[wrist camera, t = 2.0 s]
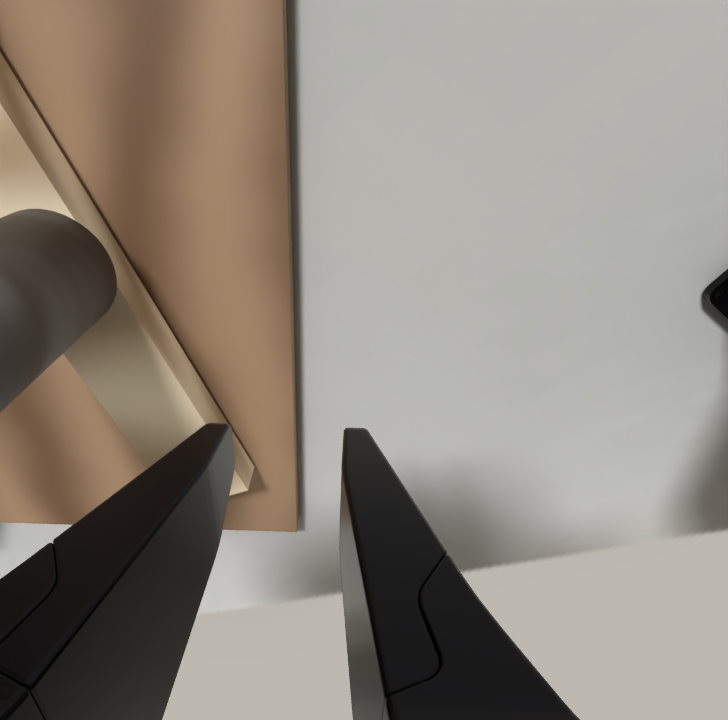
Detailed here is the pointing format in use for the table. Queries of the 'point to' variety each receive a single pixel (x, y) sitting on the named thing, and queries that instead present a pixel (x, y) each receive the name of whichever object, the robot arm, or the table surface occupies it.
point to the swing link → (85, 299)
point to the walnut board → (168, 231)
